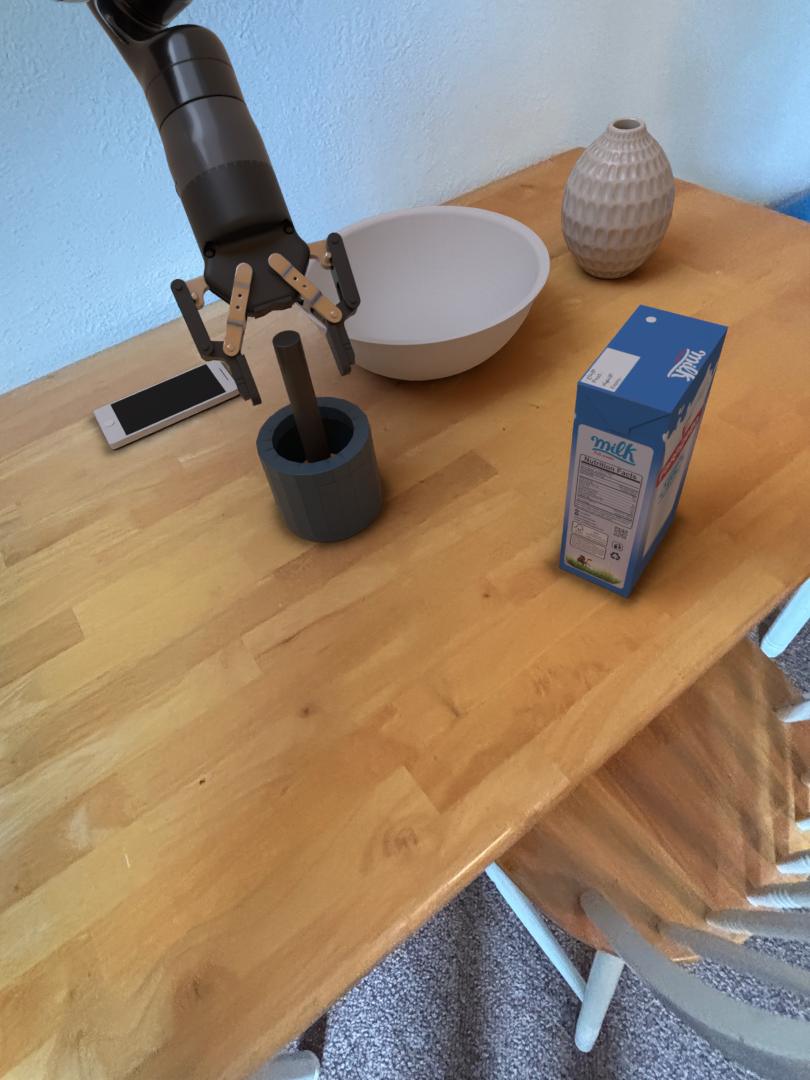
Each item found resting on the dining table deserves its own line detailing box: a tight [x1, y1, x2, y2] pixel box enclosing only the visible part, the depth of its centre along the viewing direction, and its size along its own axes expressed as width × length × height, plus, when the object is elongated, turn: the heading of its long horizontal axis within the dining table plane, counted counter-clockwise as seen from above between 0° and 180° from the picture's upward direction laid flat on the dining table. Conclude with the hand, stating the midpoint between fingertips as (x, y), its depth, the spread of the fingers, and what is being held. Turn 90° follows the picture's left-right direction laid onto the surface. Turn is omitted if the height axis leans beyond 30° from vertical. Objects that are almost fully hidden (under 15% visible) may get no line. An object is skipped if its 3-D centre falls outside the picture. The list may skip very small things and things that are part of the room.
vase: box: [560, 116, 676, 280], centre depth 83 cm, size 13×13×17 cm
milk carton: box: [558, 304, 729, 599], centre depth 54 cm, size 10×6×20 cm, turn 145°
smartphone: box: [93, 360, 240, 450], centre depth 81 cm, size 7×16×1 cm, turn 121°
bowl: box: [299, 205, 551, 381], centre depth 79 cm, size 27×27×10 cm
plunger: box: [271, 329, 336, 463], centre depth 61 cm, size 5×5×18 cm
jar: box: [255, 396, 384, 543], centre depth 65 cm, size 10×10×9 cm
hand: (302, 388), depth 56 cm, fingers open, 7 cm apart
